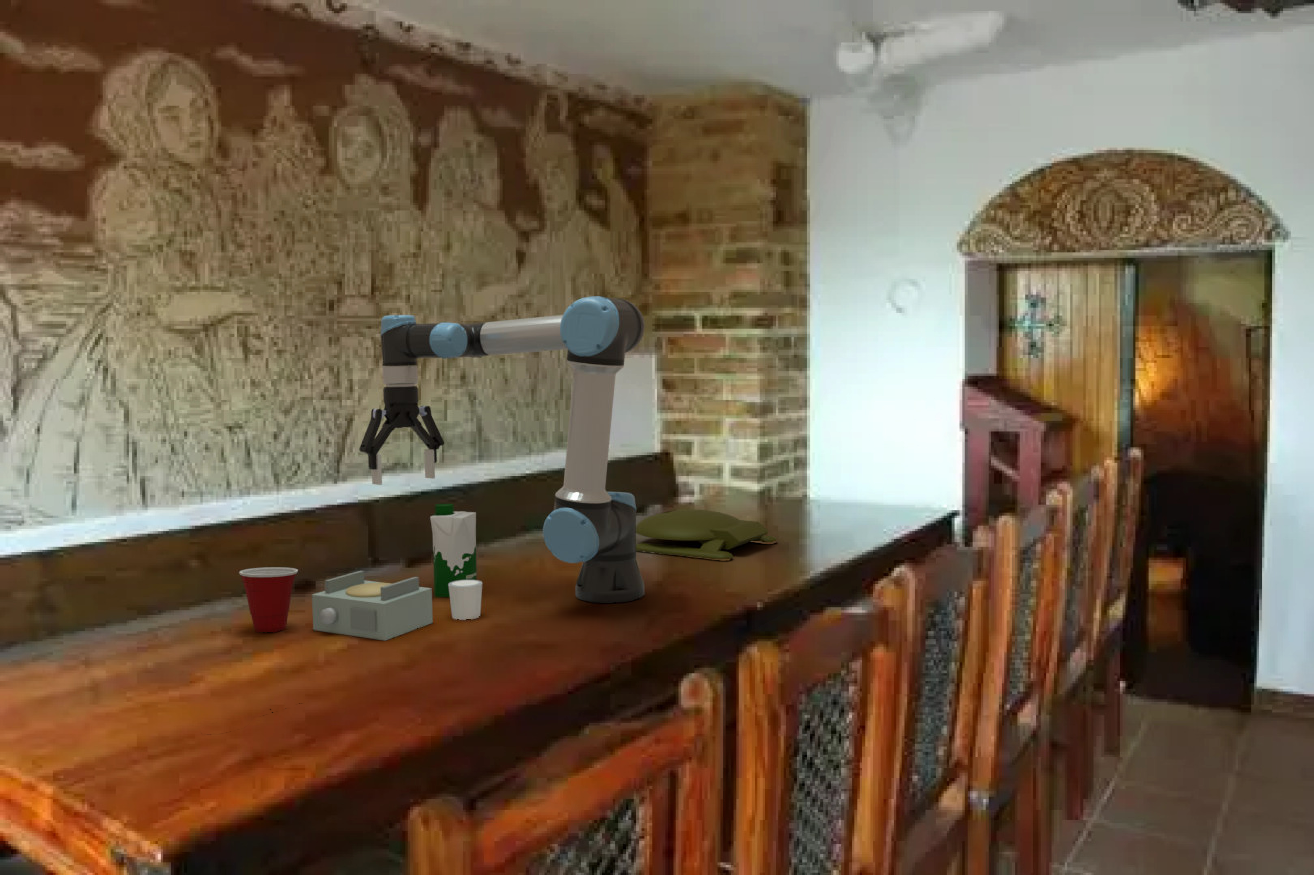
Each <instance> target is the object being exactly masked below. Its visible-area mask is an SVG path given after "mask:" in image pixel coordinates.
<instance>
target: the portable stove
mask: <svg viewBox="0 0 1314 875" xmlns="http://www.w3.org/2000/svg"><path fill="white" fill-rule="evenodd" d="M432 590H433V589H432V587H431V588H430V587H423V586H420V577H419V576H413V577H409V578H406V579H403V580H400V581H397V582H396V581H395V582H393V583H391V582H383V581H382V582H381V581H373V580H365V571H364V570H358V571H355V572H351V573H347V574H344V575H340V576H336V577H333V578H330V579H325V580H324V590H323V591H319V592H316V593H313V594H312V593H311V606H312V609H311V610H312V629H313V631H319V632H325V633H331V634H339V635H345V636H346V635H347V636H351V637H352V636H353V637H358V638H366V639H372V640H379V641H388V640H390V639H393V637H394V638H397V637H399V636H400V635H401V636H402V635H404V634H407V633H409V632H412V631H415V630H418V629H420V628H423V627H426V626H428V625H430V624H433V591H432ZM417 628H418V629H417Z"/></svg>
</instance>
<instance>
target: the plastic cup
mask: <svg viewBox="0 0 1314 875" xmlns="http://www.w3.org/2000/svg"><path fill="white" fill-rule="evenodd" d="M298 571H299V569H297V568H294V567H284V566H283V567H280V566H279V567H278V566H277V567H273V566H271V567H267V566H266V567H256V568H255V567H253V568H247V569H242V570H240V571H239V572H238V573H239V575H240V576H241V579H242V583H243V587H244V590H245V596H246V599H247V604H248V610H249V612H250V615H251V616H250V617H251V620H252V625H253V628H254V631H255V632H256V631H257V632H256V633H259V632H273V633H278V632H277V631H279V632H281V631H280V630H282V631H284V630H286V628H287V625H288V624H287V623H288V616H289V611H290V605H291V599H292V592H293V586H294V580H295V577H296V575H297V573H298ZM283 629H284V630H283Z"/></svg>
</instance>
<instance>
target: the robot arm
mask: <svg viewBox="0 0 1314 875" xmlns="http://www.w3.org/2000/svg"><path fill="white" fill-rule="evenodd" d="M416 320H417V319H416V317H415V315H413V314H412V315H411V314H410V315H409V314H399V315H397V314H393V315H392V314H391V315H385V316H383V317H382V318H381V321H380V335H379V337H380V342H381V344H380V346H381V356H382V383H383V384H384V385H385V386H384V387H383V389H382V394H383V403H384V409H381V408H372V409H371V412H370V413H371V414H370V421H369V422H368V426H367V428H366V431H365V433H364V436H363V438H362V441H361V444H360V446H359V452H360V453H364V454H366V455H367V459H368V461H367V463H368V469H369V470H371V481H372V483H371V484H372V485H377V486H380V485H383V477H382V476H383V473H382V471H383V470H382V454H378V453H379V451H380V450H381V448H382V447H383V446H384V444H385V443H386V441H387V440H388V438H389V437H390V435H391V433H392V432H393V431H394V430H396V429H403V428H411V429H412V430H413V432H415V434H416V435H417V436H418V437H419V438H418V439H420V440H421V442H422V443H423V444H424V445H425V447H427V448H425V449H423V452H424V472H425V473H424V476H425V477H424V478H426V479H436V473H435V472H436V470H435V465H436V464H437V461H438V456H437V455H438V453H437V452H438V451H437V450H439V449H440V447H442V446H444V445H445V441H444V438H443V437H442V434H441V433H440V430H439V428H438V426H437V424H436V422H435V419H434V418H433V415H432V409H431V406H429V405H421V406H420V407H419V405H418V402H419V387H418V386H417V384H418V383H419V376H418V375H419V373H418V359H445V360H446V359H453V358H483V357H488V356H496V355H497V356H500V355H511V354H524V353H537V352H539V353H540V352H550V351H551V352H552V351H561V350H564V351H565V350H567V351H566V352H567V353H566V354H567V355H566V363H567V364H568V365H569V366H570V367H571V369H572V372H573V375H572V384H571V396H570V405H569V408H570V409H569V420H568V430H567V443H566V454H565V463H564V464H565V465H564V476H563V477H564V478H563V486H561V488H559V489H558V491H556V492H555V494H554V506H553V510H552V511H551V512H550V513H549V514H548V516H547V517H546V519H545V520H544V524H543V527H542V535H543V536H542V537H543V541H544V543H545V545H546V548H547V549H548V550H549V551H550V552H551V553H552V555H553V556H554V558H555V557H556V559H558V560H559V561H561V562H565V563H568V564H578V563H582V564H581V566H580V570H579V574H578V578H577V580H576V584H575V597H576V598H577V599H579V600H581V601H585V602H590V603H602V604H603V603H605V604H606V603H607V604H611V603H614V602H616V603H626V602H631V601H636V600H638V599H637V598H639V599H641V598H643V597H644V596H645V583H644V580H643V577H642V576H643V575H642V573H641V571H640V568H639V565H638V561H637V551H636V545H637V533H636V526H637V515H636V514H637V506H636V498H635V495H634V494H632V493H631V492H626V491H625V492H623V491H622V492H621V491H607V490H606V484H607V471H608V459H609V450H610V441H611V439H610V438H611V430H612V429H611V427H612V417H613V406H614V397H615V396H614V395H615V387H616V386H615V384H616V375H617V373H618V372H619V371H621V370H622V369H623V368H624V367H625V358H626V357H625V356H626V353H628V352H631V351H633V350H634V349H635V348H636V347H638V346H639V344H640V342H642V340H643V336H644V334H645V329H646V328H645V319H644V317H643V314H642V312H641V311H640V309H639V308H638V307H637V306H636V305H635V304H634V303H633V302H631V301H629V300H626V299H623V298H616V297H615V298H614V297H613V298H612V297H603V296H599V295H598V296H597V295H596V296H593V295H592V296H588V297H587V296H585V297H582V298H580V299H577V300H575V301H573V303H571V304H570V305H569V306H568V307H567V308H566V309H565V311H564V312H563V314H560V315H558V314H557V315H549V316H540V317H539V316H537V317H528V318H526V317H525V318H517V319H508V320H497V321H488V322H475V323H456V322H445V321H443V322H433V323H431V322H430V323H417V321H416ZM418 416H419V417H421V419H422V420H421V421H423V424H424V426H425V428H426V429H425V428H424V427H423V424H422V422H421V421H420V420H419V419H418ZM383 418H385V421H384V422H383V424H382V426H381V429H380V430H379V428H380V425H381V423H382V419H383ZM378 431H379V432H378ZM643 595H644V596H643ZM642 596H643V597H642ZM635 599H636V600H635ZM614 604H615V603H614Z"/></svg>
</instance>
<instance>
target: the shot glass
mask: <svg viewBox="0 0 1314 875" xmlns="http://www.w3.org/2000/svg"><path fill="white" fill-rule="evenodd" d="M448 586H449V594H450V597H449V600H450V601H449V602H450V609H451V610H450V611H451V617H452V619H453V620H457V619H459V621H467V620H466V619H471V620H474V619H478V618H480V617H481V609H482V593H483V582H482V580H477V579H476V580H458V581H453V582H450V583H449V584H448ZM479 616H480V617H479Z"/></svg>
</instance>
